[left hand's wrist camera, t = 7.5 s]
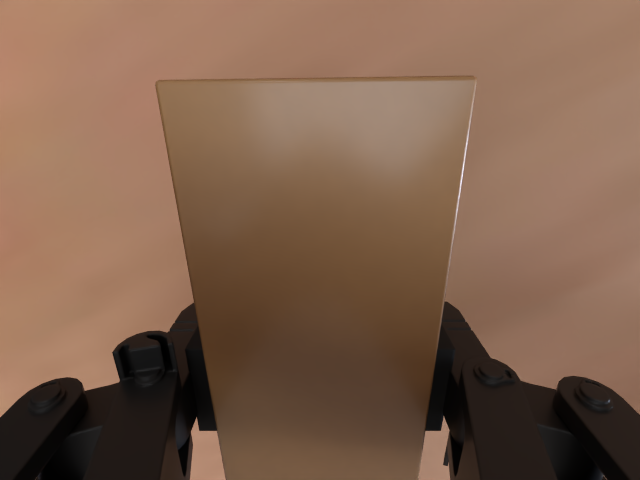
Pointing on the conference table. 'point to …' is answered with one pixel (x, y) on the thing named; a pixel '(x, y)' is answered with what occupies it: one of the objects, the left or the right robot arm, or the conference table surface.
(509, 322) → the conference table surface
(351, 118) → the bar
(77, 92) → the conference table surface
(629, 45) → the conference table surface
